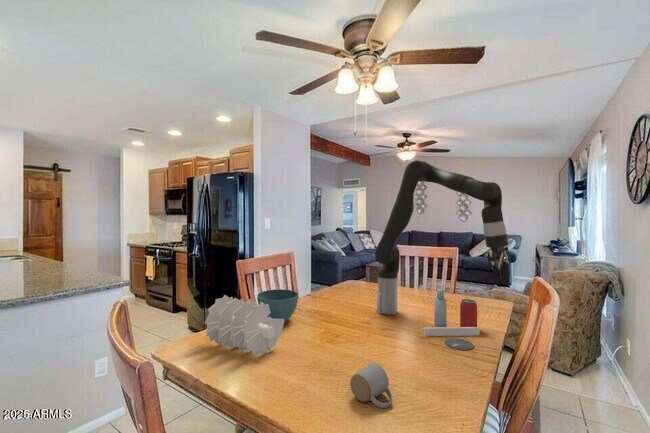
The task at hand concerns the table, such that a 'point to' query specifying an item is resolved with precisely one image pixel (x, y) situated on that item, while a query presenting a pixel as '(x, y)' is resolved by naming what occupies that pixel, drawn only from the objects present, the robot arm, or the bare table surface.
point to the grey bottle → (440, 309)
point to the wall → (450, 331)
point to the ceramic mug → (371, 384)
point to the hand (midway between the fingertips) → (502, 276)
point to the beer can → (468, 313)
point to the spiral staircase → (243, 325)
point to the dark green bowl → (279, 303)
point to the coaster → (459, 344)
